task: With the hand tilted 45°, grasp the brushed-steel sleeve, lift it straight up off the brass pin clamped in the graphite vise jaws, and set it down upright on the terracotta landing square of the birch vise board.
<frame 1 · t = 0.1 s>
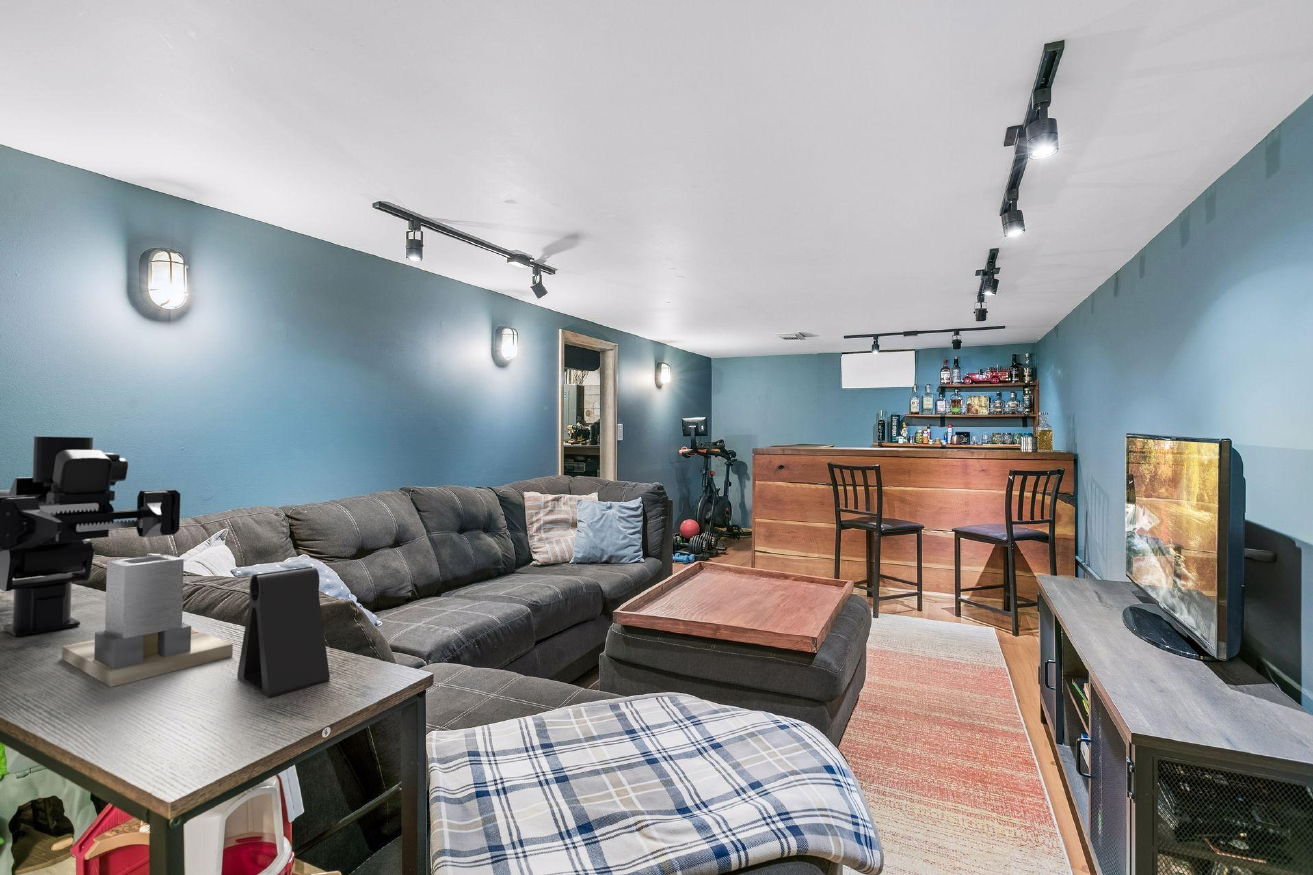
hand: (112, 522, 71), 17 cm above the table, tool horizontal, fingers open, 9 cm apart
steel sleeve: (144, 629, 69), point 4 cm above the table, touching vise board
vise board: (147, 657, 73), on the table
phone stand: (283, 681, 66), on the table
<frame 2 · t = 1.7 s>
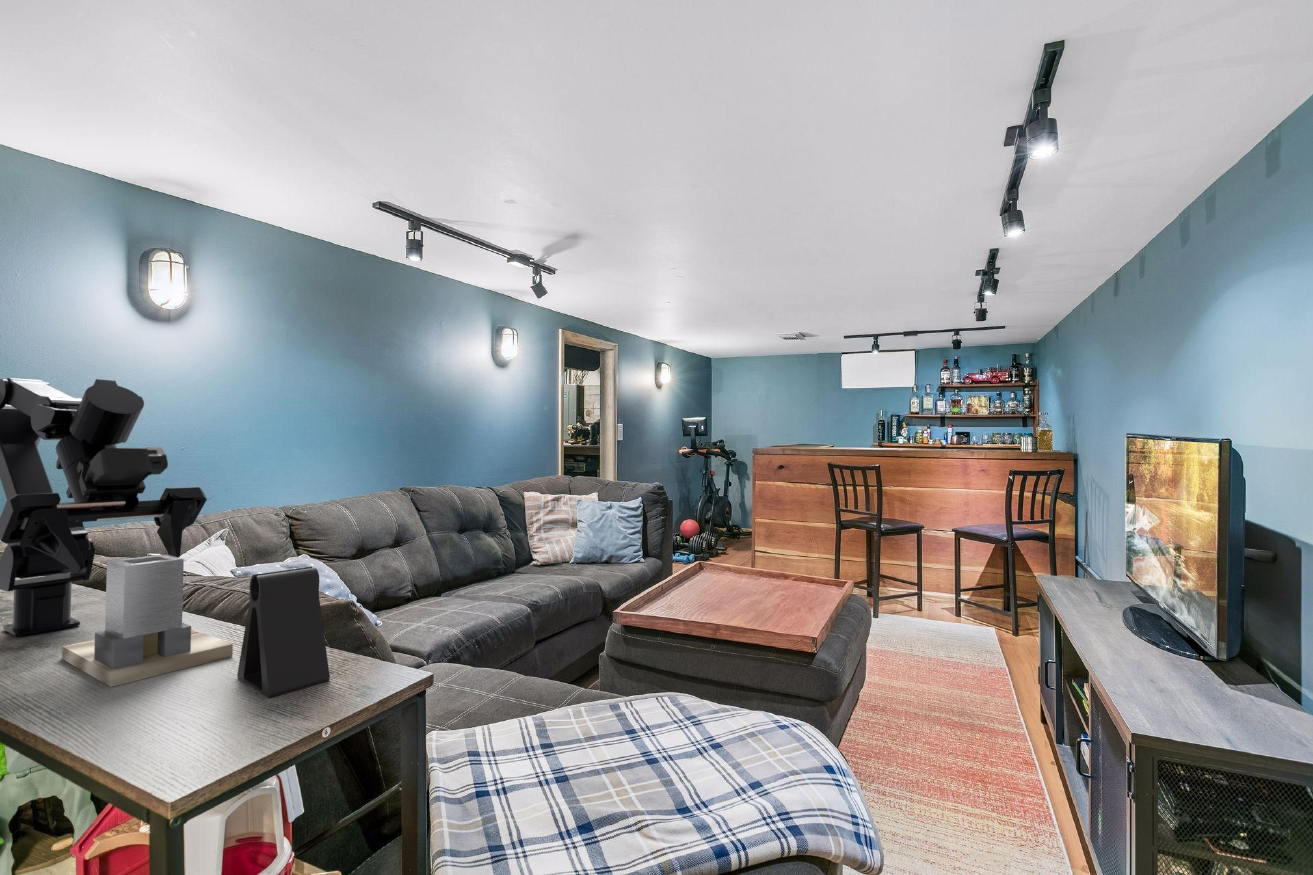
hand: (132, 563, 72), 12 cm above the table, tool tilted 45°, fingers open, 9 cm apart
nothing on the table moved.
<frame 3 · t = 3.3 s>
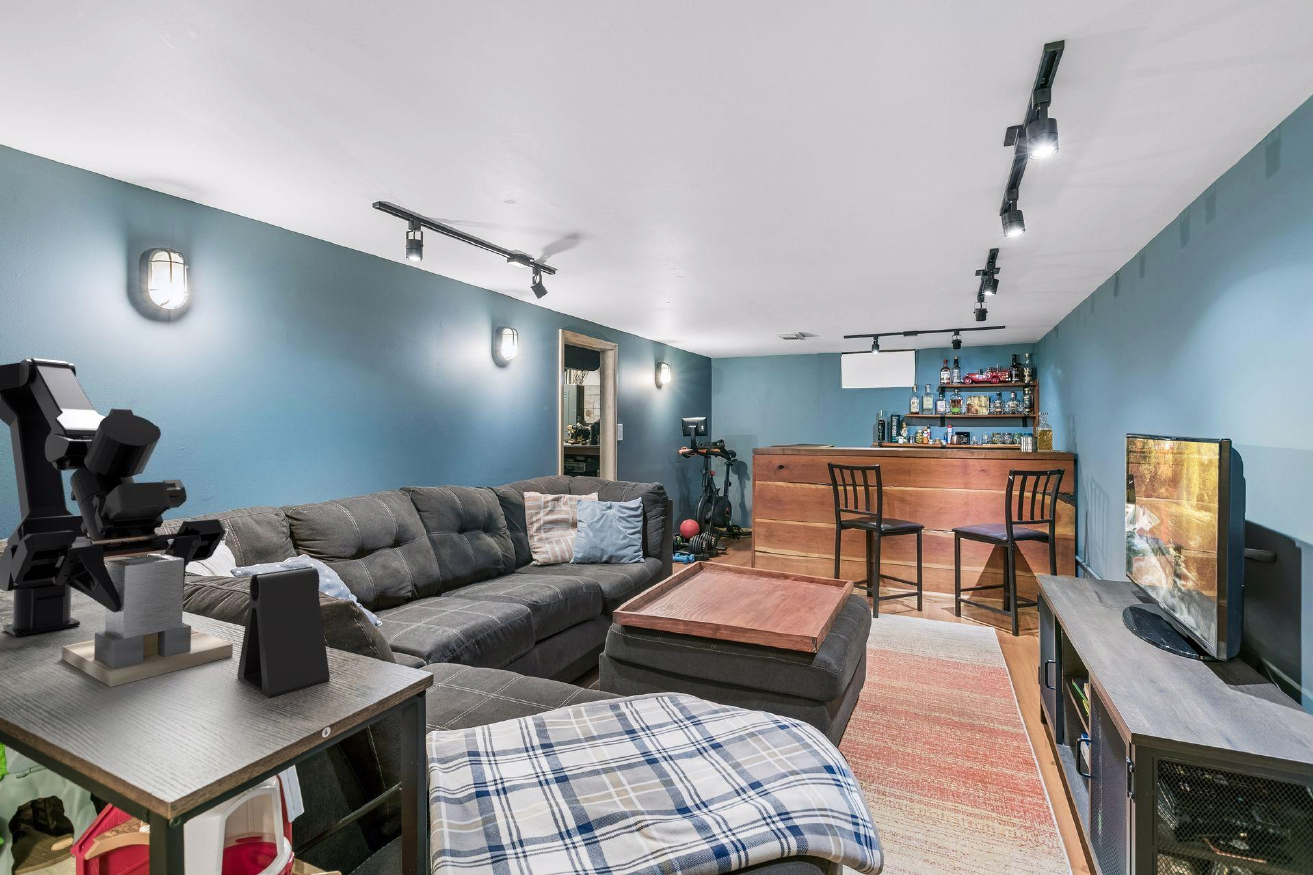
hand: (150, 604, 69), 8 cm above the table, tool tilted 45°, fingers closed on steel sleeve, 5 cm apart
steel sleeve: (144, 629, 69), point 5 cm above the table, touching gripper, vise board
everything else where it was.
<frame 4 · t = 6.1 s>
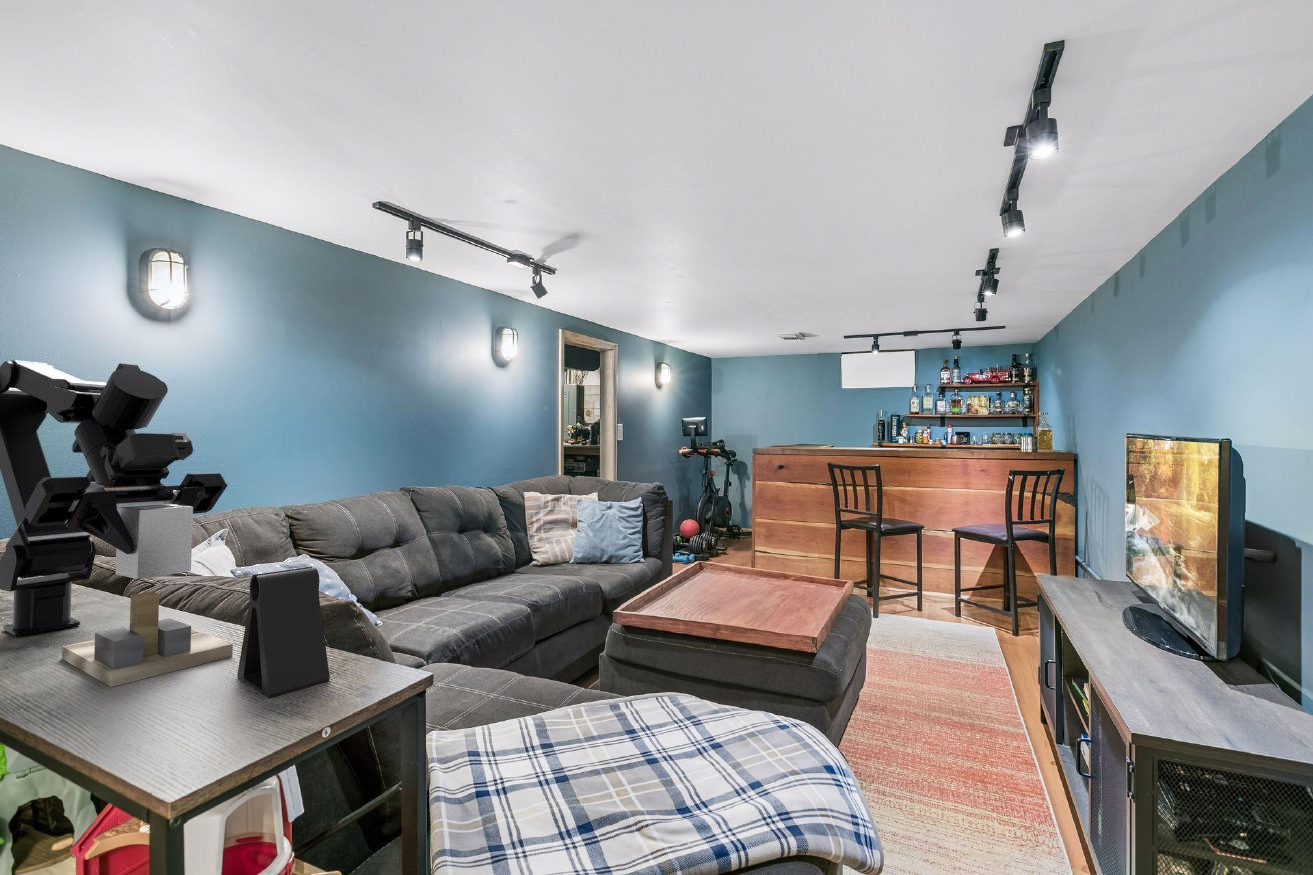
hand: (160, 548, 73), 13 cm above the table, tool tilted 45°, fingers closed on steel sleeve, 5 cm apart
steel sleeve: (153, 572, 73), point 10 cm above the table, touching gripper
everything else where it was.
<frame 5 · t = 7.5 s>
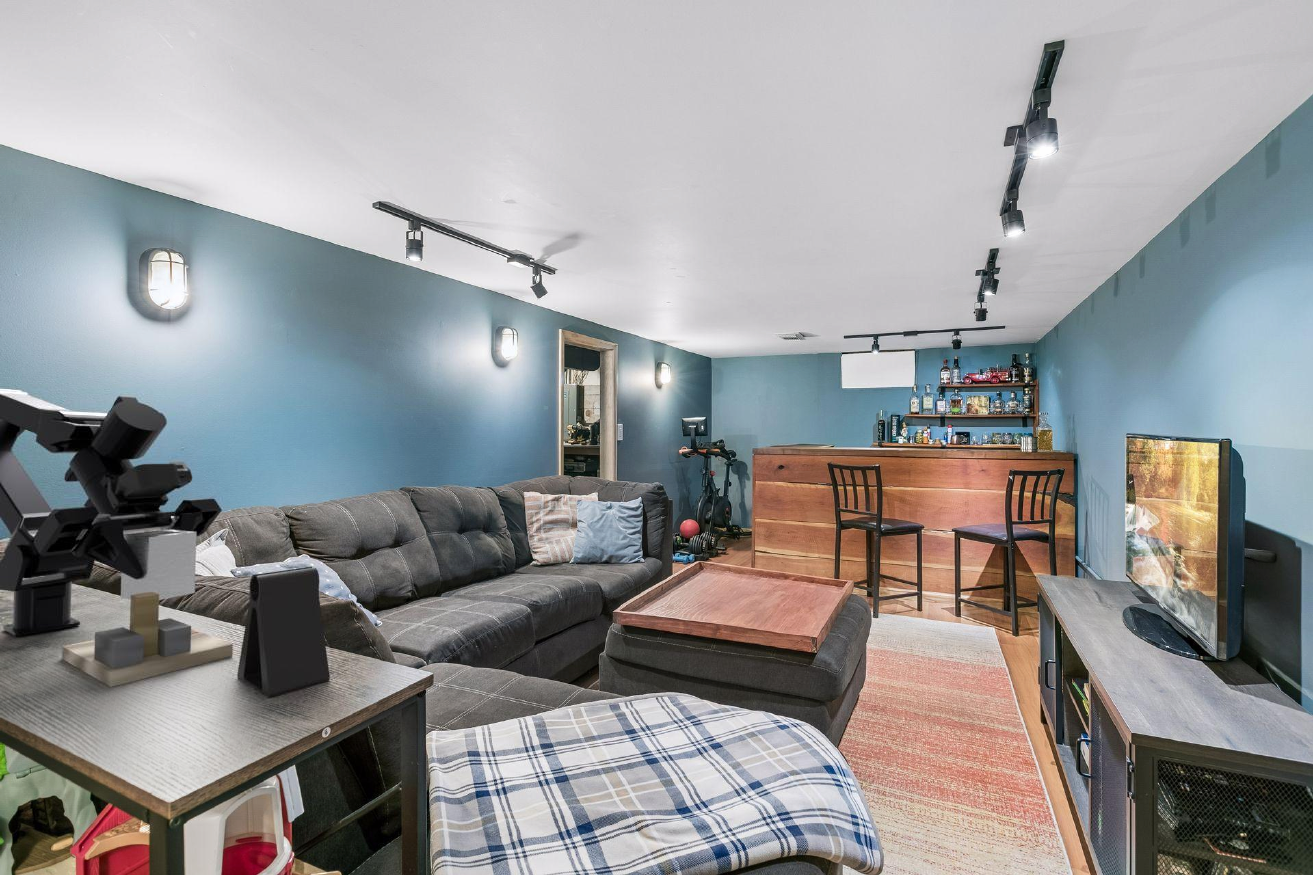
hand: (166, 572, 77), 10 cm above the table, tool tilted 45°, fingers closed on steel sleeve, 5 cm apart
steel sleeve: (158, 595, 77), point 7 cm above the table, touching gripper
everything else where it was.
when the fingers open (6 cm above the table, at t = 8.6 s): steel sleeve drops 2 cm, resting on vise board.
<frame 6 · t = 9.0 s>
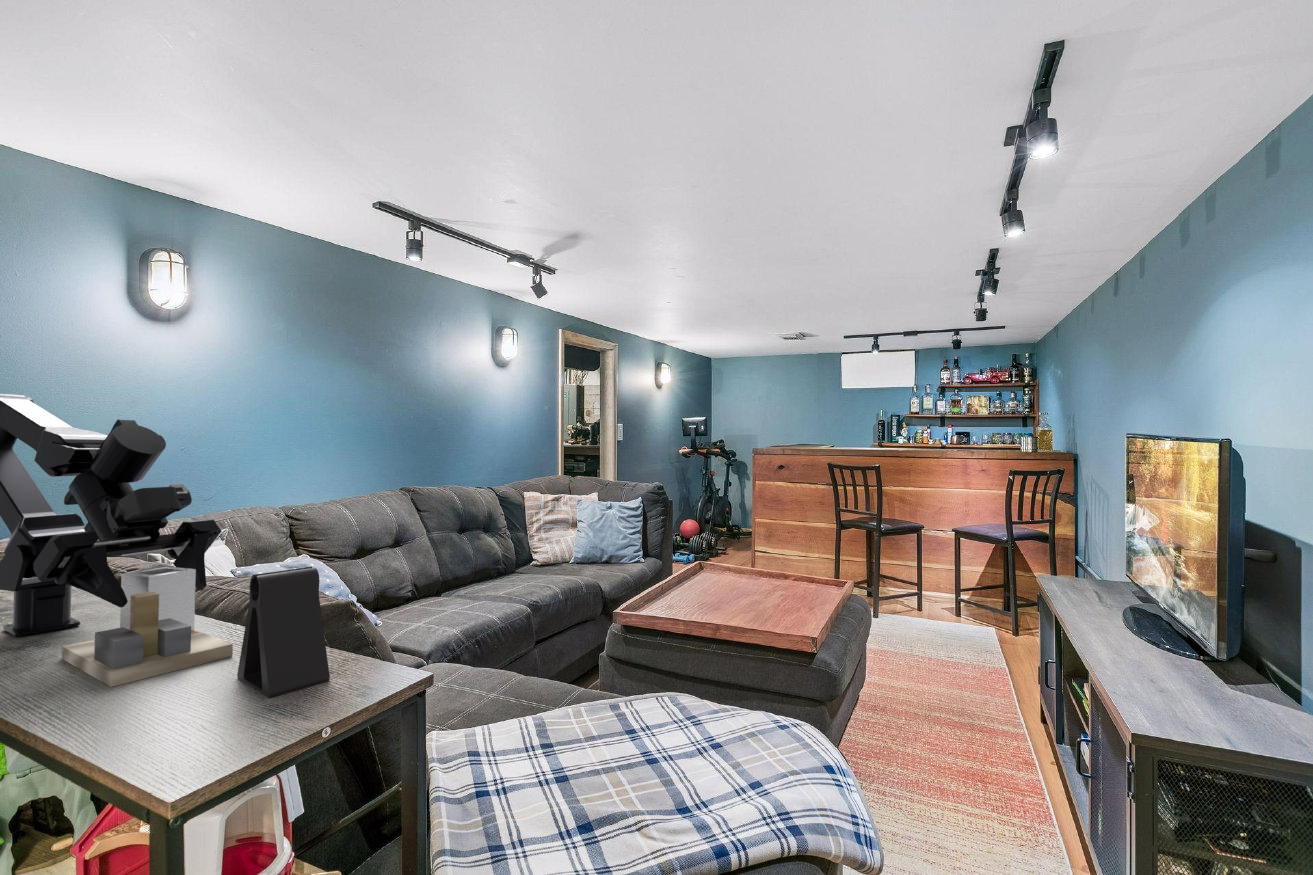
hand: (166, 596, 77), 7 cm above the table, tool tilted 45°, fingers open, 9 cm apart
steel sleeve: (157, 633, 77), point 2 cm above the table, touching vise board
everything else where it was.
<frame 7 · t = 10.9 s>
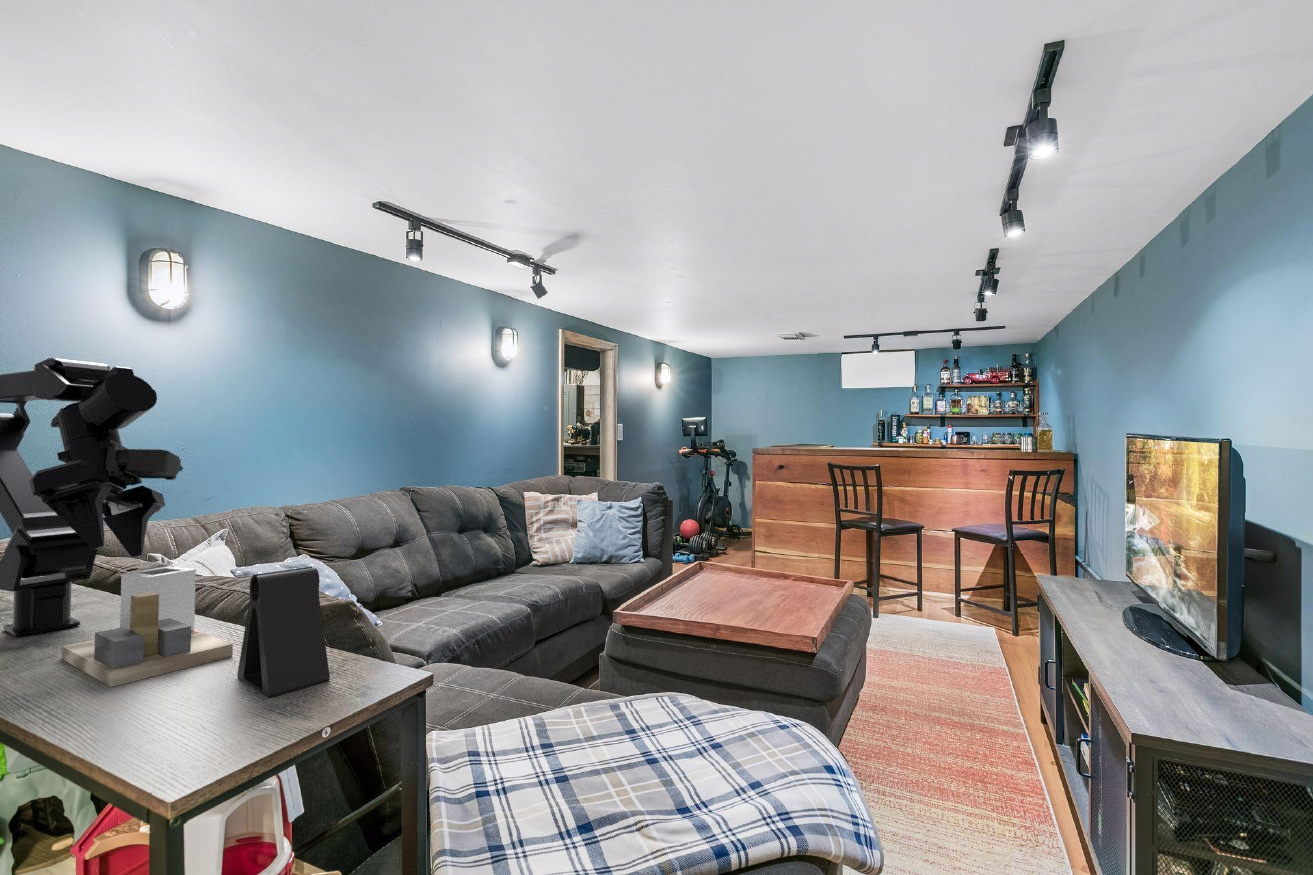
hand: (118, 552, 78), 12 cm above the table, tool tilted 25°, fingers open, 9 cm apart
nothing on the table moved.
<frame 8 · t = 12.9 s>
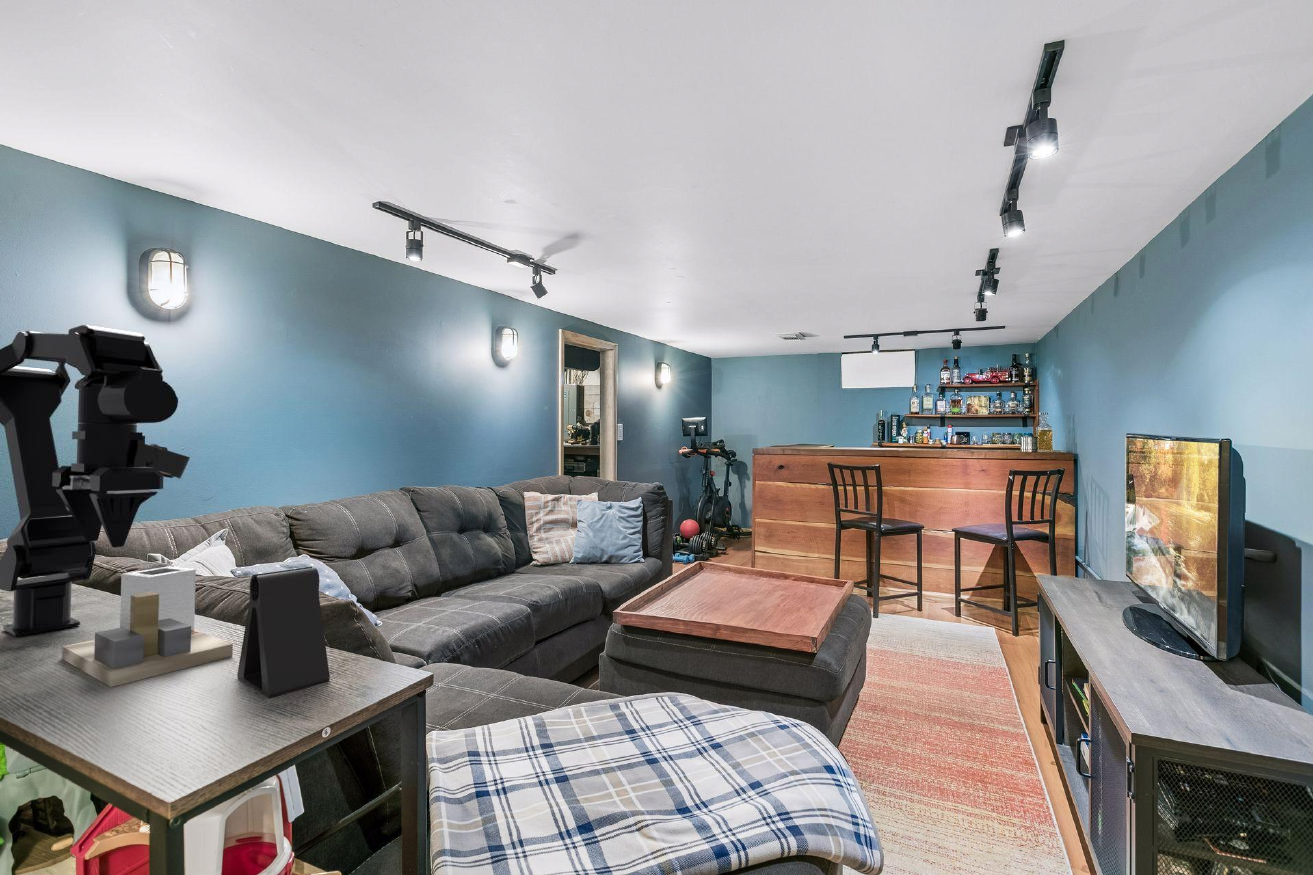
hand: (104, 543, 78), 13 cm above the table, tool pointing down, fingers open, 9 cm apart
nothing on the table moved.
at the end: steel sleeve 0.0 cm from the target spot, point 1.6 cm above the table; steel sleeve tilted 0°; the gripper is holding nothing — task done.
